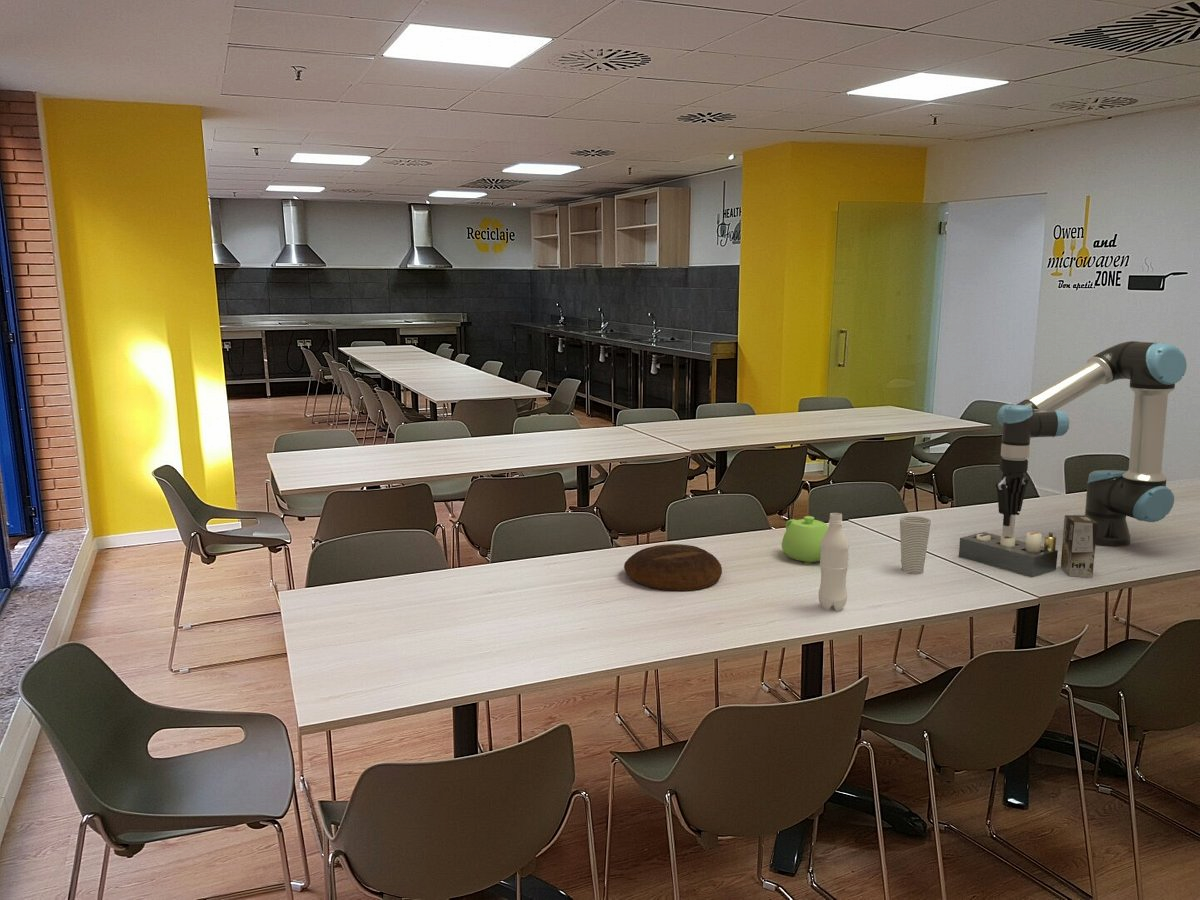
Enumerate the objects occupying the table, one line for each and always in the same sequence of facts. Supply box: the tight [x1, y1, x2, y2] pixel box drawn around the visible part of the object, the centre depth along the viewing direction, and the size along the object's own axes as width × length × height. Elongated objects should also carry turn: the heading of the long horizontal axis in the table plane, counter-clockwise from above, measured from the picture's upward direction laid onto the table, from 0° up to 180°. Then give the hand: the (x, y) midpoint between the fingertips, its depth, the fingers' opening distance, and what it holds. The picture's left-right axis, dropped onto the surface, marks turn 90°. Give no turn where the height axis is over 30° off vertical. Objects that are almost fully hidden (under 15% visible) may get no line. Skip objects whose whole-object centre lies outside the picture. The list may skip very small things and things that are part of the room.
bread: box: [623, 543, 723, 591], centre depth 258 cm, size 28×27×9 cm
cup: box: [899, 515, 931, 575], centre depth 260 cm, size 8×8×16 cm
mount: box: [958, 531, 1059, 578], centre depth 268 cm, size 12×24×6 cm, turn 33°
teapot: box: [781, 515, 829, 565], centre depth 273 cm, size 22×15×13 cm
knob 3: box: [1025, 531, 1043, 554], centre depth 260 cm, size 4×4×7 cm
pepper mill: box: [1043, 531, 1057, 552], centre depth 260 cm, size 3×3×5 cm
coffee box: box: [1060, 514, 1098, 578], centre depth 258 cm, size 9×6×16 cm
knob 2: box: [1000, 535, 1017, 547], centre depth 267 cm, size 4×4×7 cm
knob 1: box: [976, 533, 991, 541], centre depth 274 cm, size 4×4×7 cm
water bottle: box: [818, 512, 850, 611], centre depth 231 cm, size 7×7×25 cm
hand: (1007, 535), depth 267 cm, fingers closed
